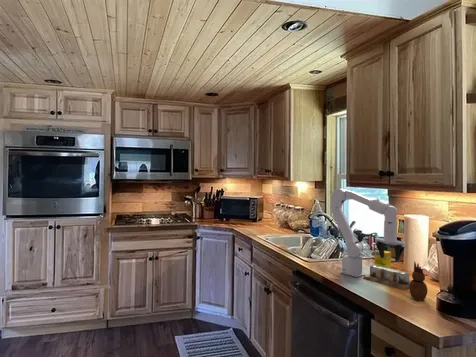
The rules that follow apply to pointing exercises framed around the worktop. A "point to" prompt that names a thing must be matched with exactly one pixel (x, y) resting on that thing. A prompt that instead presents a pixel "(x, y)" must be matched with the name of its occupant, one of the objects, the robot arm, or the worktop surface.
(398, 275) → the grey long bar
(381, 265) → the supplement box
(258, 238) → the worktop surface
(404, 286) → the rack
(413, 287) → the wooden figurine
